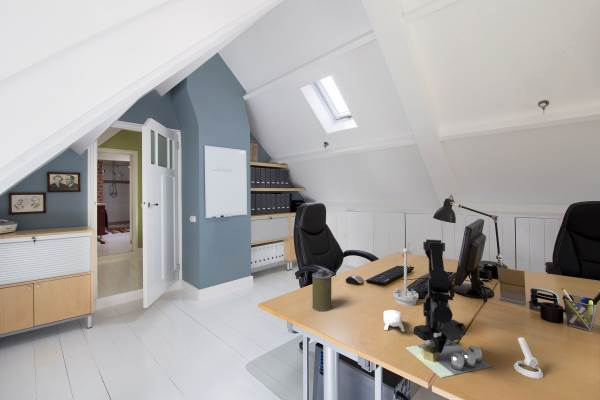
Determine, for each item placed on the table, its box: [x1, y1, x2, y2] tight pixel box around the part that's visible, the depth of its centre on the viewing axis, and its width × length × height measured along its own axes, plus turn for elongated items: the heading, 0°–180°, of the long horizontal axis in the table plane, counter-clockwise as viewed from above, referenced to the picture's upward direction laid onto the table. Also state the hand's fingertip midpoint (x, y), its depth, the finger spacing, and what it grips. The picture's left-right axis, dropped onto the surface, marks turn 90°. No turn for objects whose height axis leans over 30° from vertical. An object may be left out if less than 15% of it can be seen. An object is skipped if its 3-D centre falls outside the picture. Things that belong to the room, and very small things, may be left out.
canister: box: [311, 268, 333, 312], centre depth 144 cm, size 11×10×20 cm
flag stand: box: [392, 247, 419, 307], centre depth 151 cm, size 13×13×30 cm
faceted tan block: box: [421, 345, 439, 362], centre depth 99 cm, size 5×6×3 cm
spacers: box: [423, 339, 483, 371], centre depth 101 cm, size 18×14×4 cm
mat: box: [405, 341, 492, 379], centre depth 100 cm, size 18×21×1 cm
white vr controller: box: [513, 336, 544, 379], centre depth 94 cm, size 8×12×7 cm
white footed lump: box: [382, 309, 406, 333], centre depth 121 cm, size 9×8×15 cm
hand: (439, 352), depth 100 cm, fingers closed
